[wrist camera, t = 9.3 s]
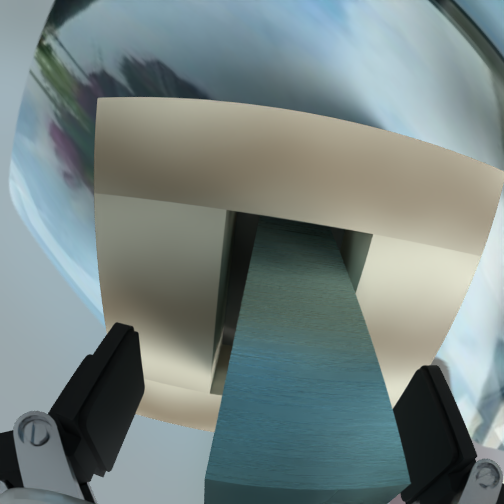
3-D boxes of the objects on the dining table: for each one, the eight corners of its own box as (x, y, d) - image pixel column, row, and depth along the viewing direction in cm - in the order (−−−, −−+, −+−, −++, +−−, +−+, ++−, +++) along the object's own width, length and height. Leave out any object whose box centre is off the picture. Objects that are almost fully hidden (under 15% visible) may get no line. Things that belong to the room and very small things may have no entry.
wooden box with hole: (196, 104, 22) (97, 98, 9) (393, 137, 22) (506, 172, 9) (182, 290, 29) (123, 410, 16) (346, 315, 28) (376, 444, 15)
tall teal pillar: (261, 209, 14) (204, 478, 3) (326, 220, 14) (410, 483, 3) (243, 333, 17) (204, 553, 6) (297, 341, 17) (299, 561, 6)
